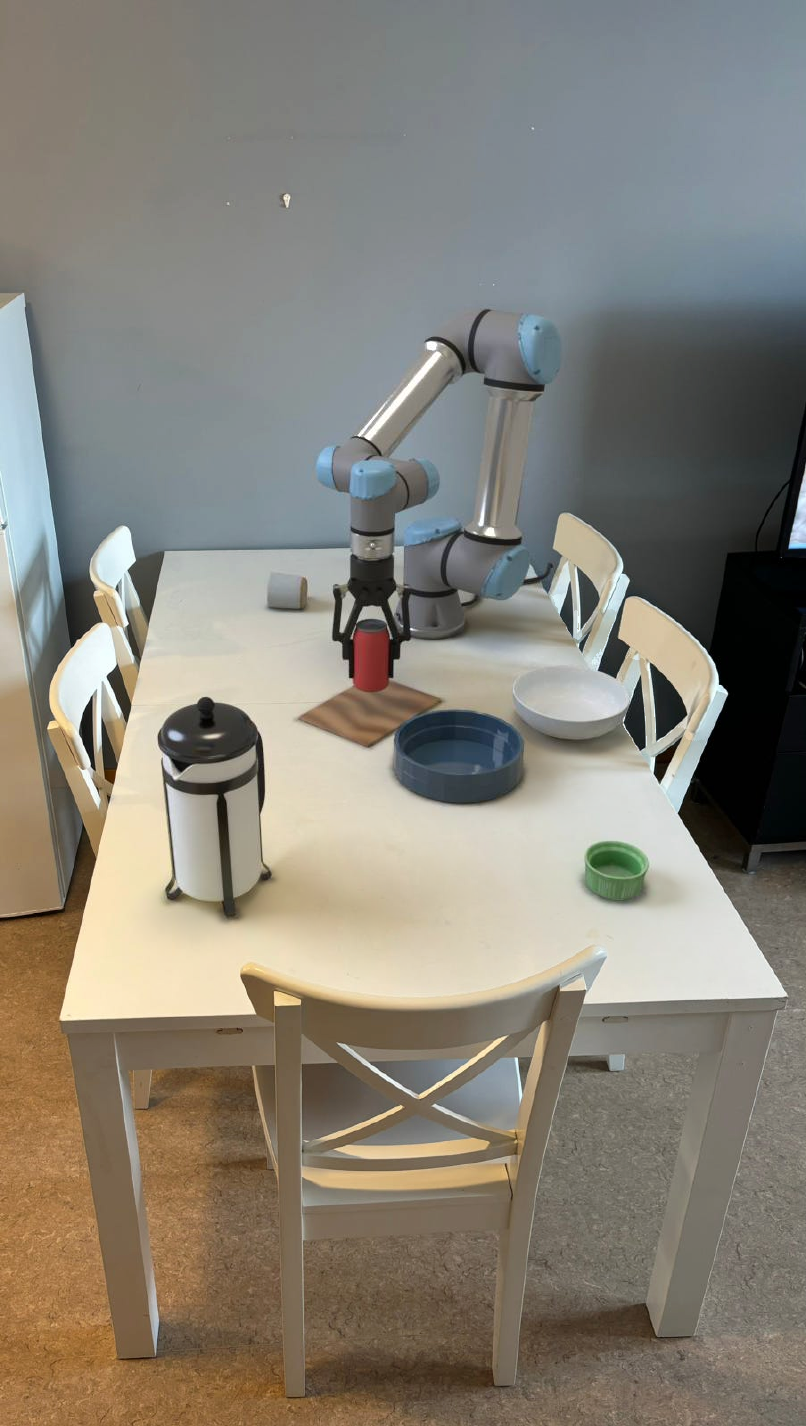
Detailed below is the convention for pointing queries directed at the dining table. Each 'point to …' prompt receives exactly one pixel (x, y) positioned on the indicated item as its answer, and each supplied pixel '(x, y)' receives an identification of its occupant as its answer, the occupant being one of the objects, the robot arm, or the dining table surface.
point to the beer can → (371, 655)
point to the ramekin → (615, 869)
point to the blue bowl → (458, 755)
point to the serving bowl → (570, 701)
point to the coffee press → (213, 801)
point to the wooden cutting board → (369, 712)
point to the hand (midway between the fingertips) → (370, 674)
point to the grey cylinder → (286, 591)
